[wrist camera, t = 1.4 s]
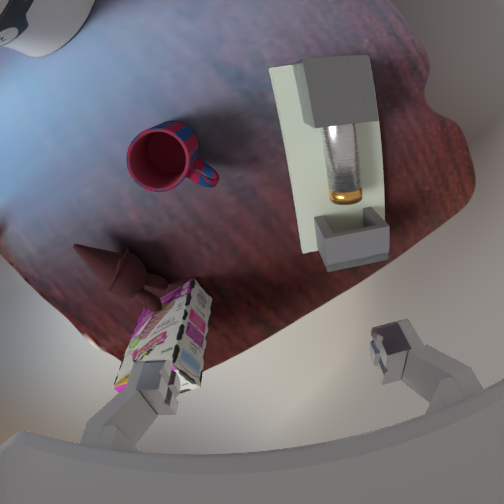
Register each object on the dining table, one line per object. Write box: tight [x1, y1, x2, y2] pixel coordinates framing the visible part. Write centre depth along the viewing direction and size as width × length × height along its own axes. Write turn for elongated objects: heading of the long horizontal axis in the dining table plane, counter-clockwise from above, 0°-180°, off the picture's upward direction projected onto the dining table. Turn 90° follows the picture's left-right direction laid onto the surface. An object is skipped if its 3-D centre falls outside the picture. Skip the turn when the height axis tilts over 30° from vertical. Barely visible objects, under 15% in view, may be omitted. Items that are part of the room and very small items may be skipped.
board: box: [269, 59, 385, 253], centre depth 35 cm, size 24×12×1 cm, turn 12°
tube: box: [320, 123, 363, 205], centre depth 31 cm, size 15×4×4 cm, turn 12°
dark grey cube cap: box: [292, 55, 379, 128], centre depth 28 cm, size 7×7×6 cm
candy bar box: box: [113, 278, 212, 394], centre depth 38 cm, size 11×5×16 cm, turn 123°
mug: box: [127, 121, 219, 192], centre depth 32 cm, size 7×10×7 cm
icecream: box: [73, 244, 168, 312], centre depth 39 cm, size 7×7×15 cm
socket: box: [314, 207, 390, 272], centre depth 36 cm, size 4×8×6 cm, turn 102°
